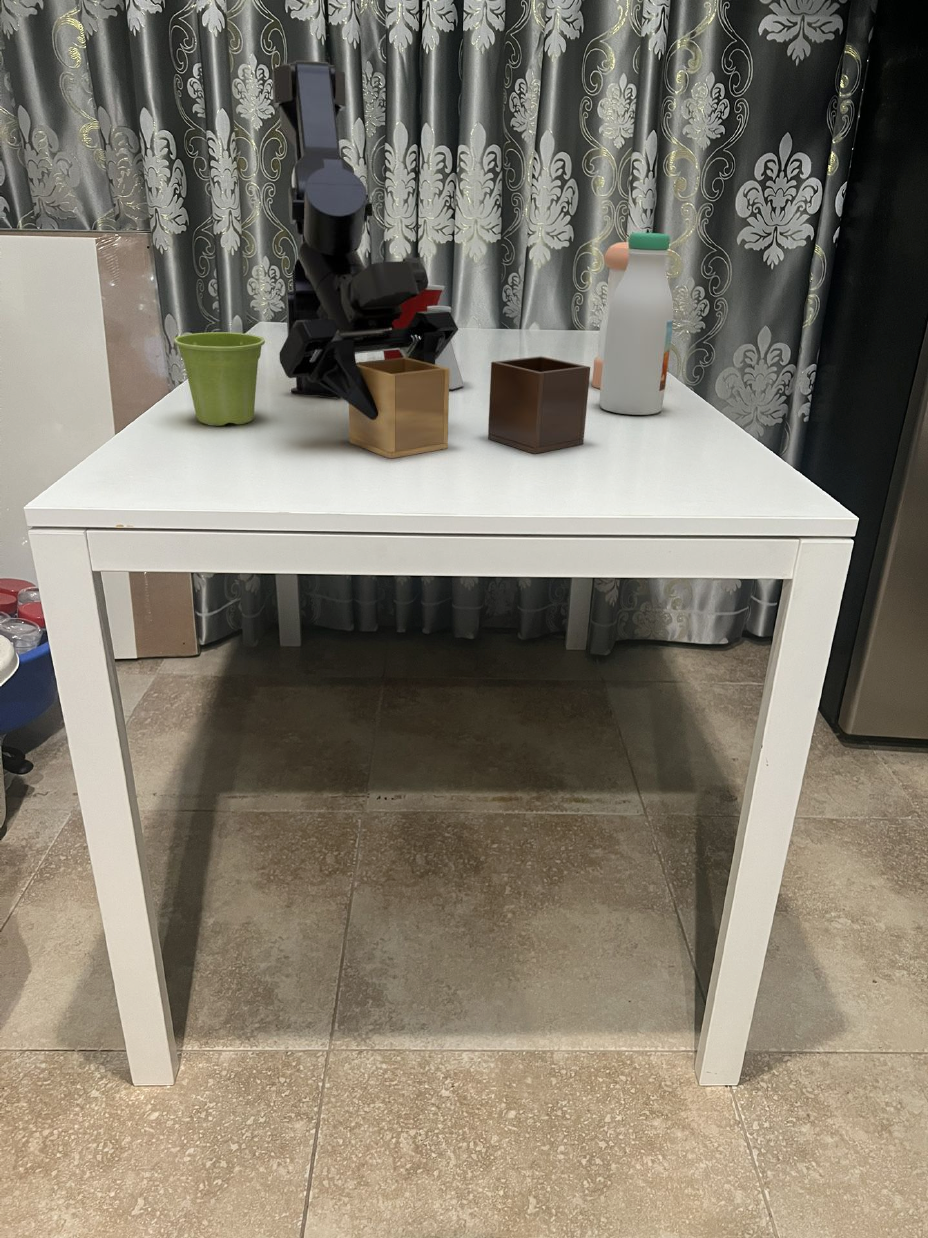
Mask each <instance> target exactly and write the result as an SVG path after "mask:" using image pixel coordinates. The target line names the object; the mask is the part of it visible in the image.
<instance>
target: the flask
mask: <svg viewBox="0 0 928 1238" xmlns="http://www.w3.org/2000/svg"><path fill="white" fill-rule="evenodd" d="M441 310H442V311H448V312H450V313H451V312H452V307H451V306H445V305H438V306H428V307H427V311H441ZM435 365H438V366H442V367H446V368H449V369H450V373H449V390H455V389H458V388H461V387H464V386H465V384H464V380H463V378H462V374H461V370H460V367H459V363H458V360H457V357H456V353H455V349H454V346H453V343H452V339H451V340H450V342H449V343H448V344H447V346H446V347H445V349H444V350H443V351H442V353H441V354H440V355H439V357H438V358H437V359H436V360H435Z"/></svg>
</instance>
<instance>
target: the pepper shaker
mask: <svg viewBox="0 0 928 1238" xmlns="http://www.w3.org/2000/svg"><path fill="white" fill-rule="evenodd" d="M628 244H629V236H628V237H627V241H625V242H624V241H620V242H616V243H614V244H612V245H610V246H609V248H608V249H607V250H606V251H605V254H604V263H605V265H606V267H608V268H609V273H608V282H607V290H606V301H605V306H604V310H603V314H602V319H601V323H600V325H599V330H598V342H597V344H598V345H597V356H596V357H595V358H594V359H593V369H592V370H593V371H592V377H591V385H592V387H594V388H597V389H599V390H600V389H601V379H602V369H603V359H604V349H605V339H606V330H607V322H608V315H609V309H610V304H611V301H612V298H613V295H614V293H615V291H616V289H617V287H618V285H619V283H620V282H621V280H622V278H623V276H624V273H625V271H626V268H627V265H628V262H629V253H628V250H629V246H628Z"/></svg>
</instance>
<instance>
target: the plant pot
mask: <svg viewBox="0 0 928 1238" xmlns="http://www.w3.org/2000/svg"><path fill="white" fill-rule="evenodd" d="M173 343H174V345H176V346H177V347H178V351H179V355H180V358H181V359H182V360H183V363H184V368H185V372H186V377H187V381H188V385H189V390H190V394H191V399H192V403H193V408H194V412H195V417H196V419H197V421H198V422H199V423H202V424H204V425H212V426H216V427H217V426H219V427H220V426H225V425H226V424H234V425H245V424H247V423H250V422H252V421H253V420H254V418H255V405H256V393H257V392H256V391H257V379H258V378H257V377H258V368H259V367H258V366H259V360H260V358H261V355H262V346H263V345H265V344H266V340H265V338H264V337H262V336H259V335H255V334H250V333H244V332H231V331H230V332H227V331H220V332H219V331H218V332H217V331H216V332H215V331H214V332H209V331H208V332H197V333H188V334H182V335H179V336H176V337H175V338H173Z"/></svg>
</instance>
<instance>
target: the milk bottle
mask: <svg viewBox="0 0 928 1238" xmlns="http://www.w3.org/2000/svg"><path fill="white" fill-rule="evenodd" d="M628 237H629V244H628V246H629V250H628V253H629V262H628V265H627V268H626V271H625V273H624V276H623V278H622V280H621V282H620V283H619V285H618V287H617V289H616V291H615V293H614V295H613V298H612V301H611V304H610V309H609V315H608V322H607V330H606V339H605V349H604V359H603V369H602V379H601V389H600V388H599V390H600V391H599V405H600V408H601V409H603V410H604V411H608V412H611V413H616V414H623V415H633V416H634V415H636V416H639V415H640V416H644V415H653V414H658V413H659V412H661V410H662V409H663V405H664V397H665V390H666V383H667V375H668V368H669V361H670V360H669V359H670V352H671V351H670V350H671V344H672V334H673V324H674V299H673V295H672V291H671V287H670V284H669V281H668V280H669V279H668V275H667V270H666V257H667V256H668V255H669V248H670V243H671V236H670V235H669V234H666V233H655V232H631V233H630V234H629V236H628Z"/></svg>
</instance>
